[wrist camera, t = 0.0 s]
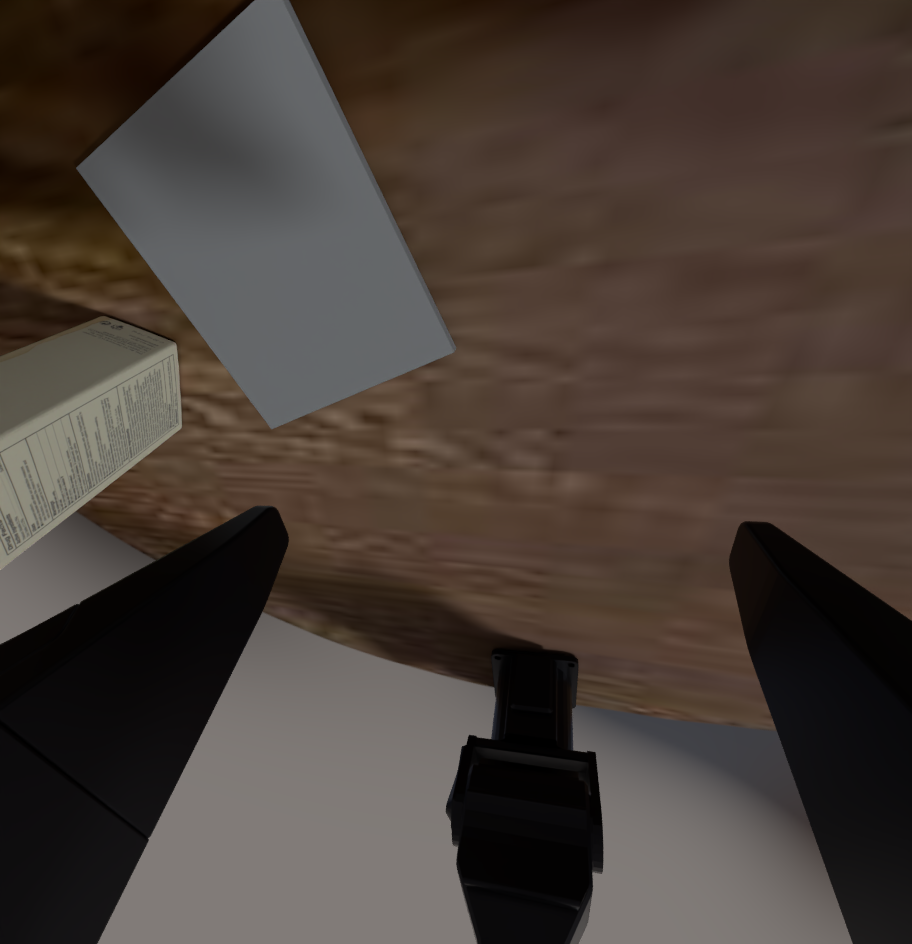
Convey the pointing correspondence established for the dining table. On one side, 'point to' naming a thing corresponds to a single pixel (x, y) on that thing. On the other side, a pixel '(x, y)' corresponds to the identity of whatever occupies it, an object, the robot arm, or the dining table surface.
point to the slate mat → (269, 222)
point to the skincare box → (78, 421)
